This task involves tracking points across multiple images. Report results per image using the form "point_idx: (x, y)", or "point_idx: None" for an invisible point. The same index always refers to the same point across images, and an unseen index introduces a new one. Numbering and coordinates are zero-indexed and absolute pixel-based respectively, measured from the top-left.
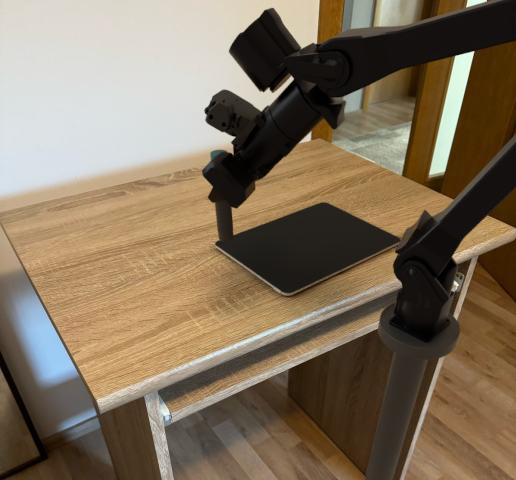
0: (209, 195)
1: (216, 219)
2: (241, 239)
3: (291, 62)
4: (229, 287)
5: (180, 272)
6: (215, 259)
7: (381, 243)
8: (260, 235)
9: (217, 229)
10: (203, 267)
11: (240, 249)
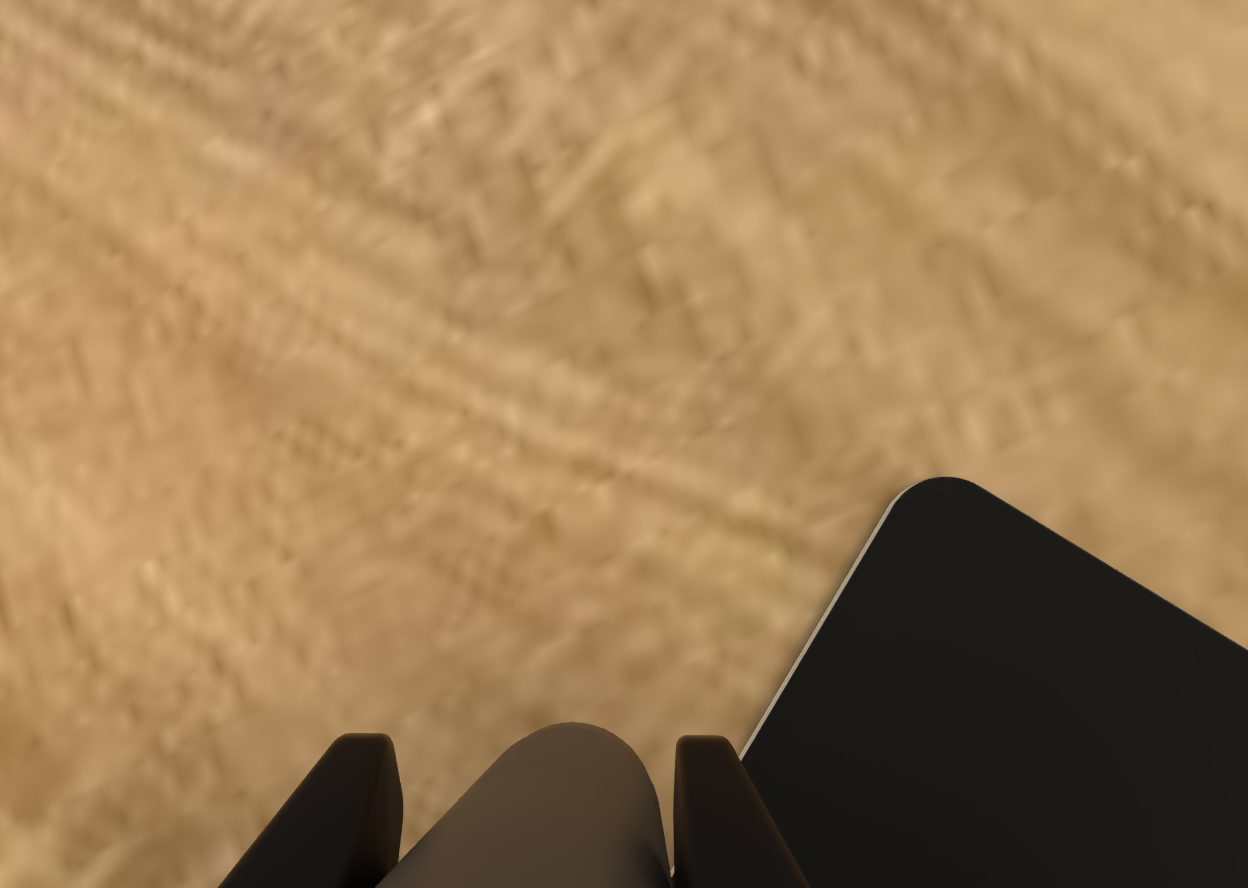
0: (299, 795)
1: (506, 756)
2: (1083, 680)
3: None
4: None
5: (469, 373)
6: (743, 560)
7: None
8: (1222, 827)
9: (515, 744)
10: (595, 516)
11: (909, 742)
